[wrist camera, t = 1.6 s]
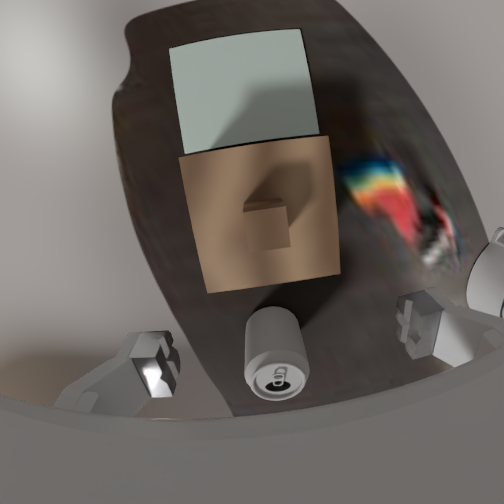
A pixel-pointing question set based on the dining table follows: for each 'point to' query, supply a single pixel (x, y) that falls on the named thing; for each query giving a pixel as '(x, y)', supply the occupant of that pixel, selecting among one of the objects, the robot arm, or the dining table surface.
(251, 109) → the mat
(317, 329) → the dining table surface
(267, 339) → the can
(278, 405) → the dining table surface
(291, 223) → the lid
